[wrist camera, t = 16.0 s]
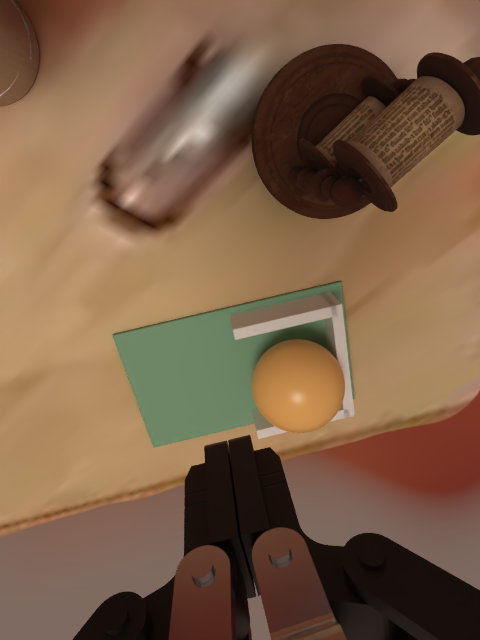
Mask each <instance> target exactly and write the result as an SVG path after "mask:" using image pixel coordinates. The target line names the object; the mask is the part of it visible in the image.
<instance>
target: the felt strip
mask: <svg viewBox="0 0 480 640" xmlns="http://www.w3.org/2000/svg"><path fill="white" fill-rule="evenodd" d="M325 292H331V293H332V294H333V295H334V296H335V297H336V298H337V299H338V300H339V301H340V302H341V303H342V308H343V317H344V325H345V334H346V343H347V352H348V361H349V370H350V379H351V388H352V397H353V399H354V391H353V382H352V373H351V364H350V355H349V345H348V336H347V327H346V318H345V309H344V300H343V291H342V282H341V281H337V282H333V283H329V284H325V285H320V286H316V287H312V288H308V289H303V290H299V291H295V292H290V293H286V294H282V295H278V296H273V297H269V298H265V299H261V300H256V301H252V302H248V303H244V304H239V305H235V306H231V307H226V308H222V309H218V310H214V311H209V312H205V313H201V314H197V315H192V316H188V317H184V318H180V319H175V320H171V321H167V322H162V323H158V324H154V325H150V326H145V327H141V328H137V329H133V330H128V331H124V332H120V333H116V334H113V338H114V341H115V344H116V346H117V349H118V352H119V354H120V357H121V360H122V363H123V365H124V368H125V371H126V373H127V376H128V379H129V382H130V384H131V387H132V390H133V392H134V395H135V398H136V401H137V403H138V406H139V409H140V411H141V414H142V417H143V420H144V422H145V425H146V428H147V430H148V433H149V436H150V439H151V441H152V444H153V447H158V446H162V445H167V444H171V443H175V442H179V441H183V440H187V439H191V438H196V437H200V436H204V435H208V434H212V433H216V432H221V431H225V430H229V429H233V428H237V427H241V426H245V425H250V424H254V423H255V422H254V418H253V414H252V410H256V409H258V408H257V406H256V404H255V402H254V399H253V395H252V385H251V383H252V376H253V371H254V369H255V366H256V364H257V362H258V361H259V359H260V358H261V356H262V355H263V354H264V353H265V352H266V351H267V350H268V349H269V348H271V347H272V346H274V345H276V344H278V343H280V342H283V341H286V340H292V339H303V340H308V341H312V342H315V343H317V344H319V345H321V346H323V347H324V348H326V349H327V344H326V337H325V329H324V322H323V319H322V320H318V321H314V322H309V323H305V324H301V325H297V326H292V327H288V328H284V329H280V330H275V331H271V332H267V333H263V334H259V335H254V336H250V337H246V338H242V339H237V340H235V337H234V333H233V329H232V324H231V320H230V316H229V315H232V314H236V313H240V312H244V311H249V310H253V309H257V308H262V307H266V306H270V305H274V304H279V303H283V302H287V301H291V300H296V299H300V298H304V297H308V296H313V295H317V294H321V293H325Z"/></svg>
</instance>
